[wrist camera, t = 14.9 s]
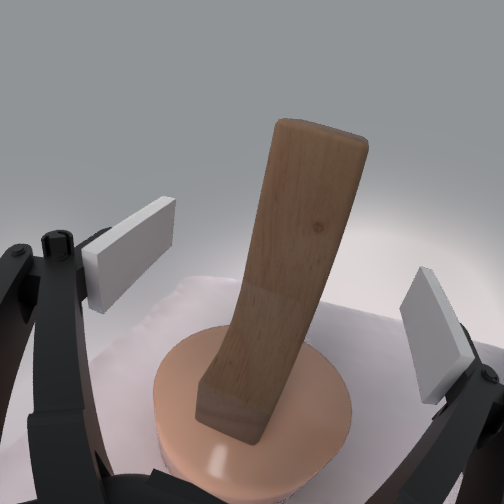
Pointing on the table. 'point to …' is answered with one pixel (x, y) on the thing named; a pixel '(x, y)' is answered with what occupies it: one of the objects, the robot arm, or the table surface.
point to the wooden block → (282, 273)
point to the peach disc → (273, 438)
